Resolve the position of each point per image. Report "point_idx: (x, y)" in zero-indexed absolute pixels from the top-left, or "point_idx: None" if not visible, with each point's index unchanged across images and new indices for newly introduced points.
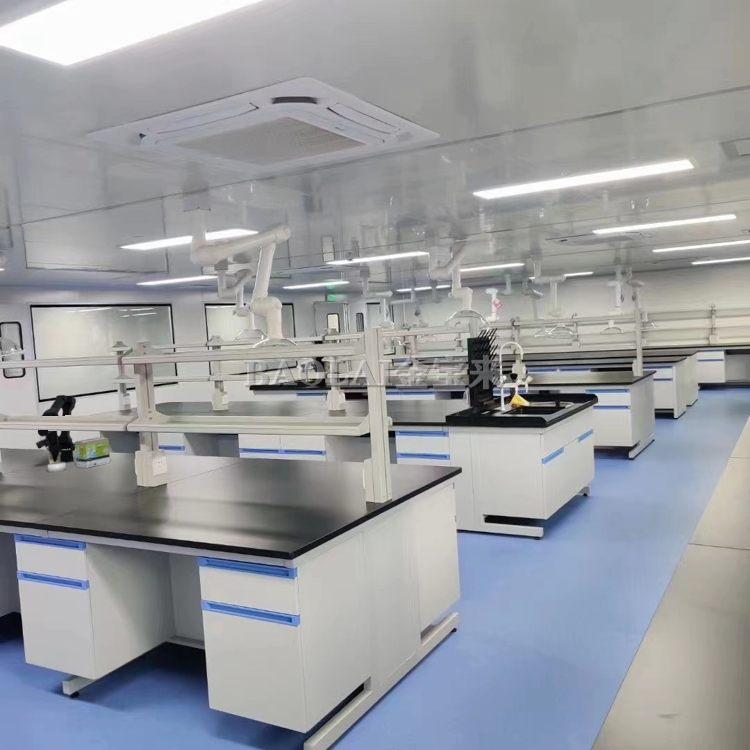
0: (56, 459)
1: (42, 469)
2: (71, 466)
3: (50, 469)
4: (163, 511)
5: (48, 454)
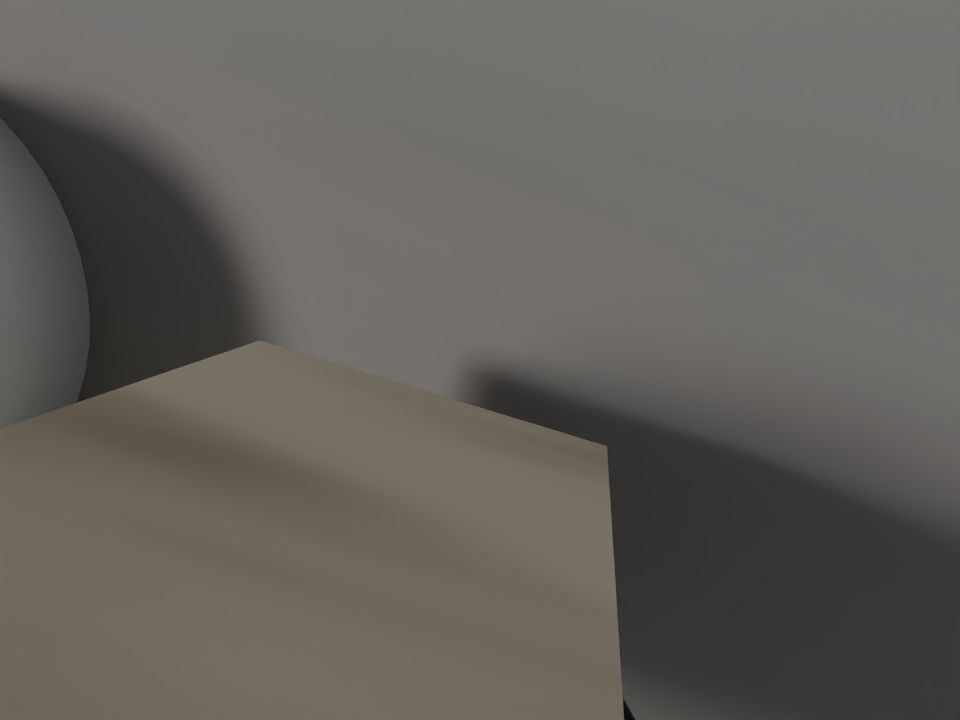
0: None
1: (477, 110)
2: None
3: None
4: None
5: (406, 698)
